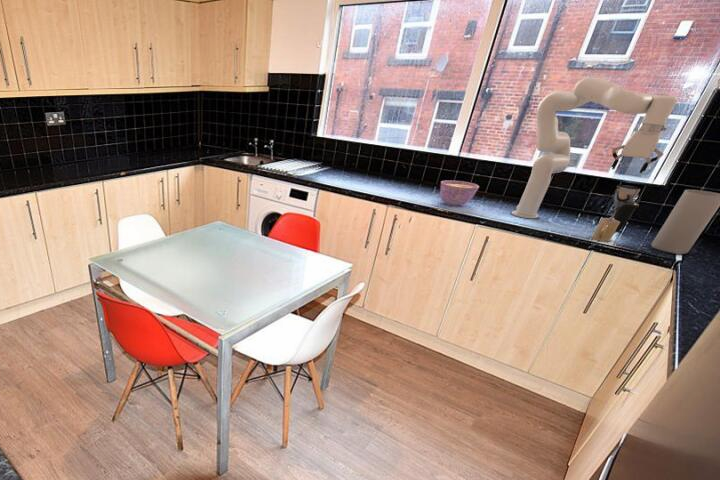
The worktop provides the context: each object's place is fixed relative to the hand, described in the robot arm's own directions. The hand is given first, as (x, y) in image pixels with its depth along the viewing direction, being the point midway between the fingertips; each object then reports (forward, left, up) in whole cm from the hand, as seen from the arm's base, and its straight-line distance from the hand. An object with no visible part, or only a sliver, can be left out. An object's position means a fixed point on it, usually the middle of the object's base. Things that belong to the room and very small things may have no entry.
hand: (626, 170), depth 189 cm
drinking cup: (-13, +17, -30) cm, 37 cm away
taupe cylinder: (+14, +24, -30) cm, 41 cm away
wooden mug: (+6, 0, -30) cm, 31 cm away
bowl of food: (-45, -51, -30) cm, 74 cm away
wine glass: (+5, +1, -21) cm, 22 cm away
